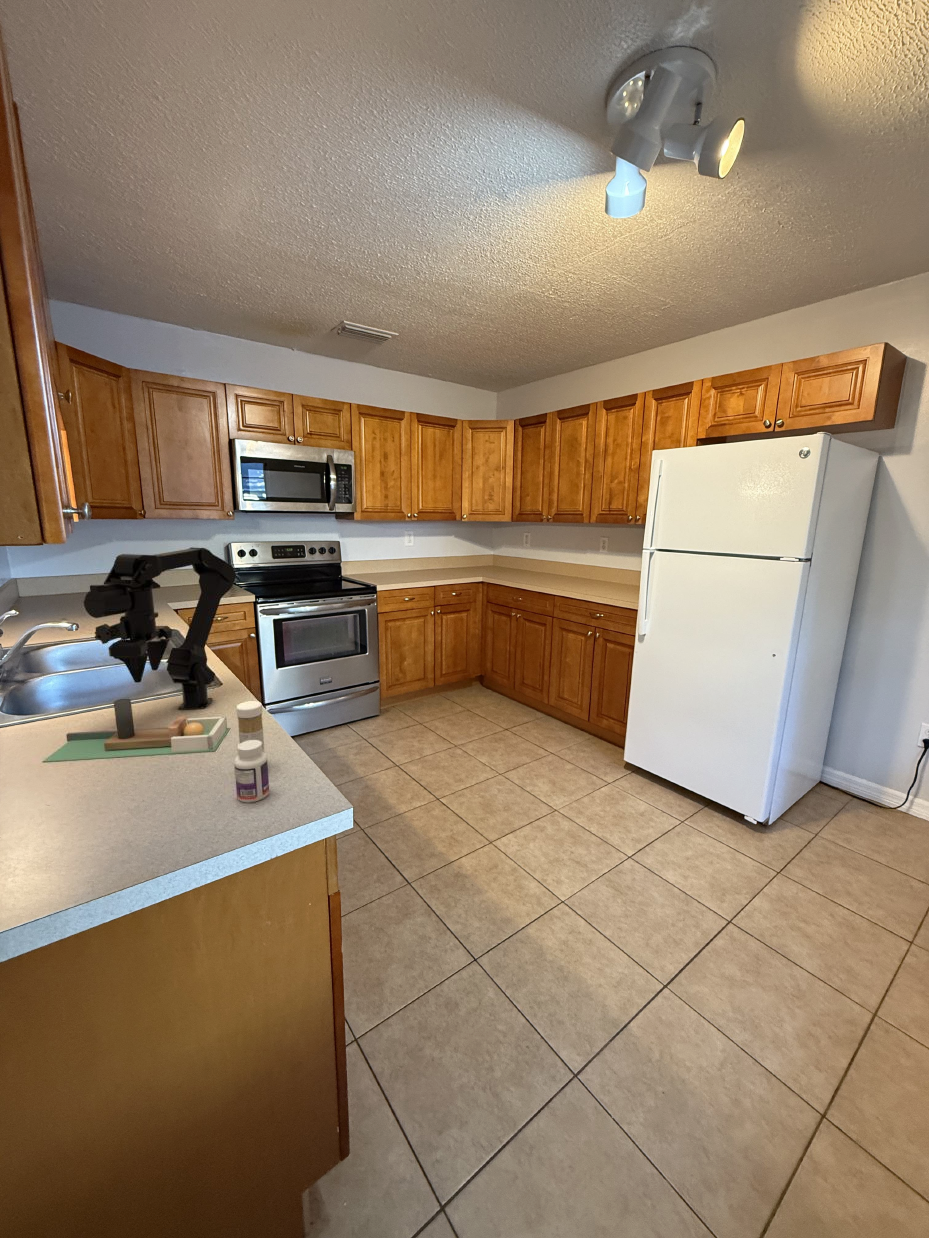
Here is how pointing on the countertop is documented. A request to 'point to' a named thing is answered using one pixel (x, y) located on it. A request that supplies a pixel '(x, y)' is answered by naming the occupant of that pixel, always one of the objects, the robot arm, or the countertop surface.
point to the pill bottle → (251, 772)
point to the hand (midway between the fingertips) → (146, 676)
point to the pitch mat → (97, 750)
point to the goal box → (201, 741)
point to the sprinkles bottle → (250, 722)
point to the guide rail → (96, 734)
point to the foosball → (193, 729)
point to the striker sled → (140, 738)
